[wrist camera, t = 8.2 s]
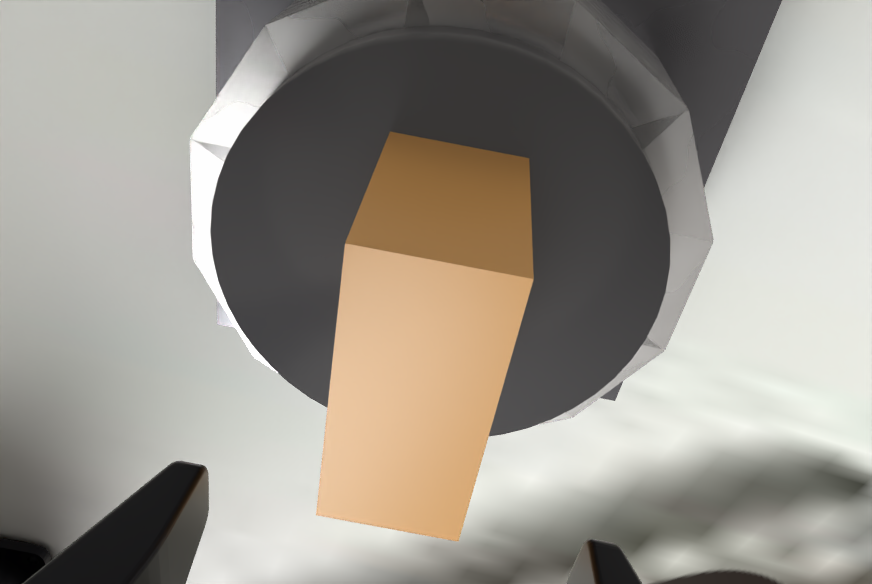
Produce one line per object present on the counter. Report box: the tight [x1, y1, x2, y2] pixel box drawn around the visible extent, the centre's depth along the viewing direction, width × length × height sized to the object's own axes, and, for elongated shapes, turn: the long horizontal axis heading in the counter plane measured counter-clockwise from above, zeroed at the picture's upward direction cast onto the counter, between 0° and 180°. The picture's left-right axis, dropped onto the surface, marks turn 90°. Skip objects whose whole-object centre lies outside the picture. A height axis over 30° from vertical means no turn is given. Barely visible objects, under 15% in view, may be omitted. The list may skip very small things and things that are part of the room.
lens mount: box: [190, 0, 782, 425], centre depth 17 cm, size 12×12×5 cm
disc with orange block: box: [210, 26, 670, 541], centre depth 14 cm, size 9×9×7 cm
